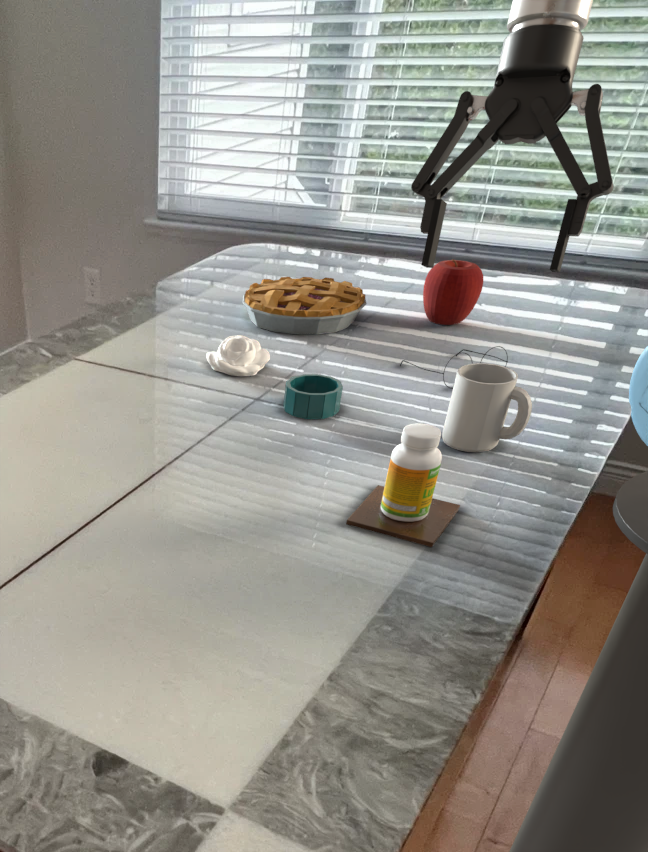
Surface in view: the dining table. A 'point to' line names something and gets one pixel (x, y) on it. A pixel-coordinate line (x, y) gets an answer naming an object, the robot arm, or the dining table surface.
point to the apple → (451, 291)
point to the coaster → (415, 531)
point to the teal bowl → (312, 396)
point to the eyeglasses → (456, 355)
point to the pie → (303, 305)
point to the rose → (238, 356)
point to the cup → (484, 408)
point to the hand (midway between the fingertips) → (488, 269)
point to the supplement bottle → (412, 474)
